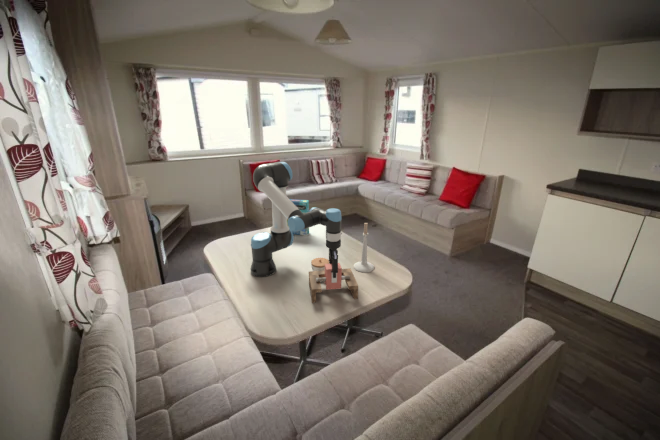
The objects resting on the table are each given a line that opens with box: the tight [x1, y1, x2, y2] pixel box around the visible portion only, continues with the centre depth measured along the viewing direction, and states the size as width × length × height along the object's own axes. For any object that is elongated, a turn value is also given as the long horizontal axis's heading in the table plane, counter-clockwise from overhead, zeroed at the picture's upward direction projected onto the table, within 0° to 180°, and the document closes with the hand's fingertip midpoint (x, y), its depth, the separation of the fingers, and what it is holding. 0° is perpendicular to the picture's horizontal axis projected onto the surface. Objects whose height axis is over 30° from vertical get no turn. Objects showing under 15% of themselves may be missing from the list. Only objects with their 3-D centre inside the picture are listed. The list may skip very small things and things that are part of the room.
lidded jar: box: [310, 257, 329, 271], centre depth 183 cm, size 11×11×9 cm
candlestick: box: [353, 222, 375, 273], centre depth 186 cm, size 13×13×30 cm
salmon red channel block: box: [324, 262, 343, 291], centre depth 161 cm, size 8×6×12 cm
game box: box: [287, 198, 310, 236], centre depth 237 cm, size 20×6×27 cm, turn 81°
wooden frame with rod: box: [308, 267, 359, 304], centre depth 165 cm, size 24×18×10 cm
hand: (333, 278), depth 162 cm, fingers closed on salmon red channel block, 6 cm apart
